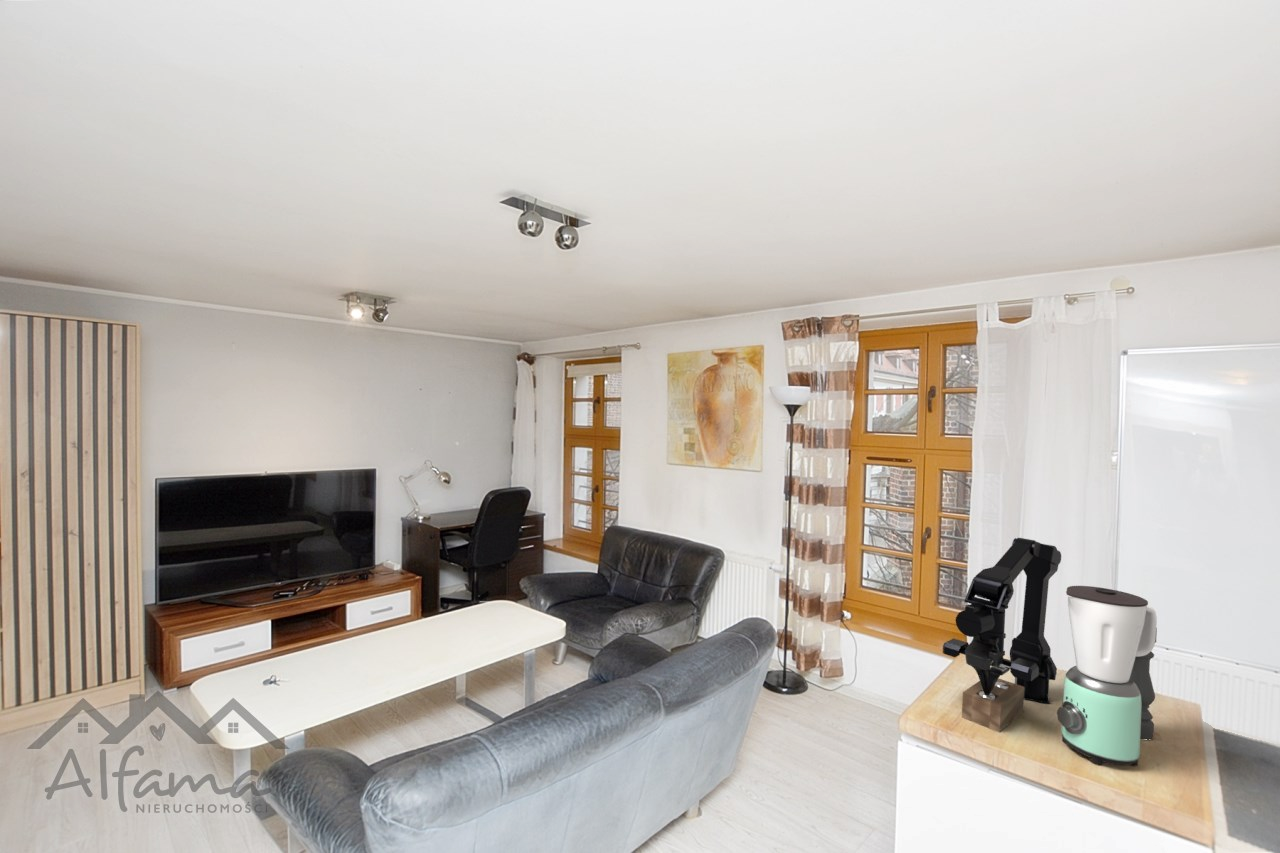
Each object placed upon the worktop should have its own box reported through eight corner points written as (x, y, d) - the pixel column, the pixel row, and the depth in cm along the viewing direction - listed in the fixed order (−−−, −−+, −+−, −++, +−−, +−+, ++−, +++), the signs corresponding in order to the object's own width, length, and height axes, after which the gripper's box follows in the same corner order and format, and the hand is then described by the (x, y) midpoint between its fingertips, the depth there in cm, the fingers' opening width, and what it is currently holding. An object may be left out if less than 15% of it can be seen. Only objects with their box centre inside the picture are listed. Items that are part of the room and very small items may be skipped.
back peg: (1006, 705, 141) (1007, 683, 141) (1008, 711, 138) (1009, 688, 138) (991, 702, 142) (992, 680, 142) (993, 707, 139) (994, 685, 139)
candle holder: (1144, 728, 133) (1149, 622, 133) (1159, 742, 127) (1164, 631, 127) (1112, 723, 135) (1117, 618, 135) (1125, 736, 129) (1130, 627, 129)
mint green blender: (1088, 771, 115) (1096, 599, 115) (1037, 735, 128) (1044, 580, 128) (1176, 771, 116) (1184, 601, 116) (1117, 735, 130) (1124, 582, 129)
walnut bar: (1023, 711, 139) (1024, 686, 139) (999, 732, 129) (1000, 705, 129) (987, 698, 145) (988, 674, 145) (961, 717, 135) (962, 692, 135)
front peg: (992, 716, 135) (993, 693, 135) (995, 722, 132) (996, 698, 132) (977, 712, 136) (978, 690, 136) (979, 719, 133) (980, 695, 133)
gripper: (933, 623, 136) (931, 688, 136) (1024, 649, 122) (1020, 722, 122) (953, 614, 143) (951, 676, 143) (1040, 638, 129) (1037, 707, 129)
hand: (987, 694), depth 134 cm, fingers closed, pressing on front peg
